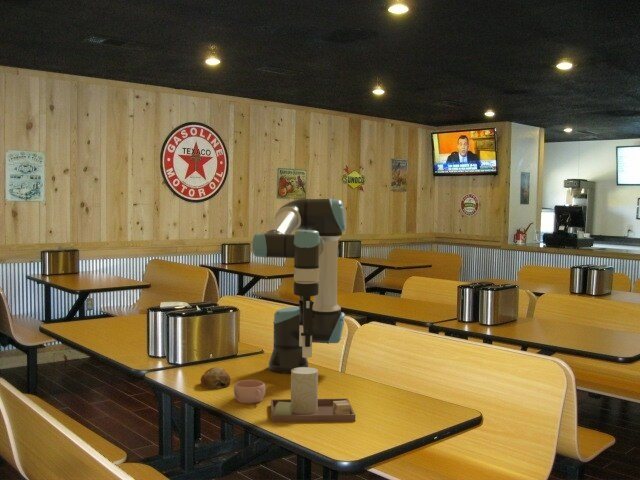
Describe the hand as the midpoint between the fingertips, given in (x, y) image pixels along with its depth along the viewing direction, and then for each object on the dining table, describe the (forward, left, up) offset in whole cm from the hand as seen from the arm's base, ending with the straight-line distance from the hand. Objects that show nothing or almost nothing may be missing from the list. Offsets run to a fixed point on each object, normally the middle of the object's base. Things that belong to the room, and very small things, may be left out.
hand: (305, 351), depth 201 cm
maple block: (+7, +10, -18) cm, 22 cm away
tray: (+3, +2, -18) cm, 19 cm away
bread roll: (-30, -29, -19) cm, 46 cm away
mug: (-10, -16, -19) cm, 26 cm away
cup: (0, 0, -18) cm, 18 cm away
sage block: (+7, -7, -18) cm, 20 cm away
